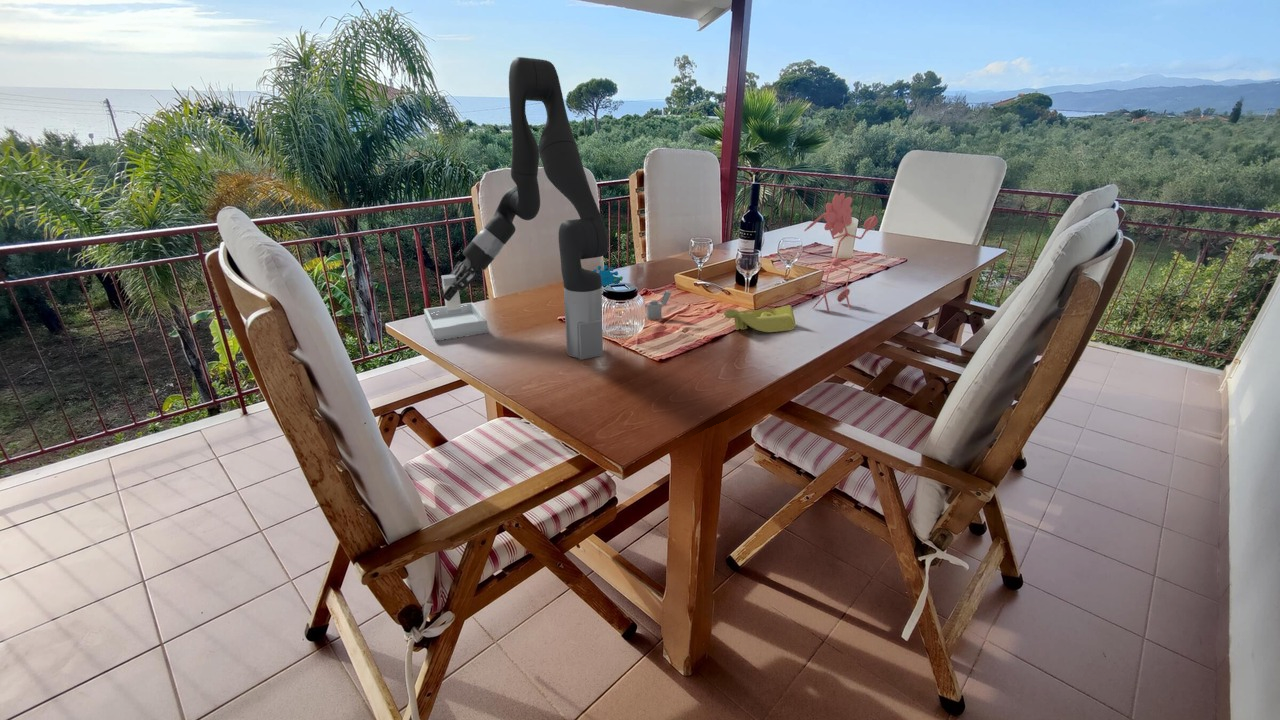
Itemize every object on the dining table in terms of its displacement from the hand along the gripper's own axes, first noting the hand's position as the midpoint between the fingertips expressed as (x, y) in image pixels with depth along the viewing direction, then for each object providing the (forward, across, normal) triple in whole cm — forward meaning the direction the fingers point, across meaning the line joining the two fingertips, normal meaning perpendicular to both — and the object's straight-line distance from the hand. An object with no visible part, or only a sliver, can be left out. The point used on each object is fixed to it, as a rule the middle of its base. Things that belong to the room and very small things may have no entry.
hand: (444, 296), depth 151 cm
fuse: (+2, 0, +5) cm, 5 cm away
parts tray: (+5, 0, +8) cm, 9 cm away
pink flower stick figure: (-73, +31, +86) cm, 117 cm away
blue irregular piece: (-33, -16, +47) cm, 59 cm away
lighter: (-35, +18, +48) cm, 62 cm away
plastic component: (-50, +38, +63) cm, 88 cm away
